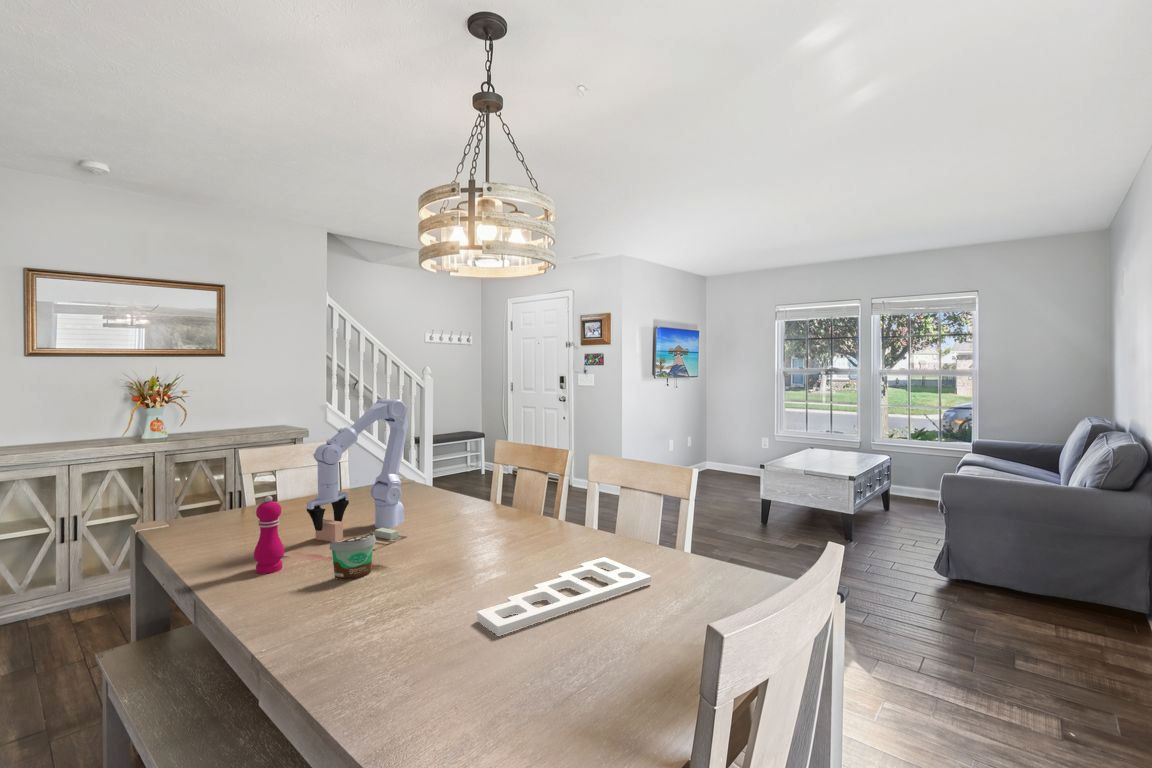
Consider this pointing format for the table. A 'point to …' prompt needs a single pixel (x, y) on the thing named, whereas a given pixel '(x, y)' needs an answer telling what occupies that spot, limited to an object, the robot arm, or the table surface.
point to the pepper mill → (268, 538)
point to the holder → (561, 595)
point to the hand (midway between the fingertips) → (328, 526)
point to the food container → (353, 557)
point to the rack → (387, 541)
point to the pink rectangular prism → (330, 531)
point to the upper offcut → (386, 533)
